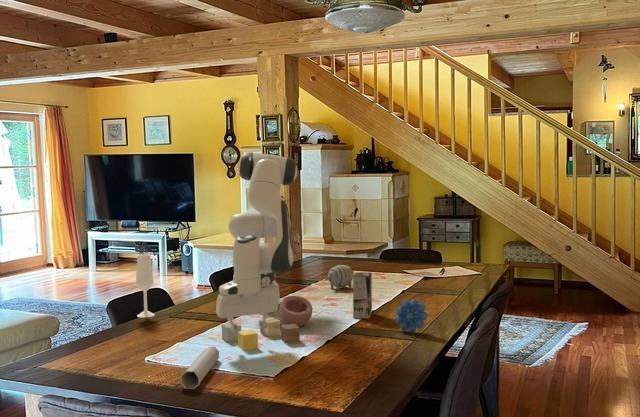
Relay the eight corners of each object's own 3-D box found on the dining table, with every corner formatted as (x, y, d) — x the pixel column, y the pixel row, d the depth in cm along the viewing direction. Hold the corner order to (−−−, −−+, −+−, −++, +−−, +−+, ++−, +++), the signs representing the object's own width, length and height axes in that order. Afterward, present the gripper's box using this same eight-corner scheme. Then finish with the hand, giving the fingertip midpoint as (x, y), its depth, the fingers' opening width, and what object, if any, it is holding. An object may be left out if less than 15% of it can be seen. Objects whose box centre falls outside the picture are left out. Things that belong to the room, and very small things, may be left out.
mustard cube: (238, 346, 207) (237, 331, 207) (252, 344, 209) (252, 329, 209) (243, 350, 203) (242, 335, 202) (257, 348, 205) (257, 333, 204)
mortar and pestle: (287, 332, 223) (287, 300, 222) (274, 324, 233) (273, 293, 232) (318, 327, 228) (317, 296, 227) (303, 320, 239) (303, 290, 238)
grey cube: (222, 338, 216) (221, 324, 215) (235, 336, 218) (235, 322, 218) (227, 342, 212) (227, 327, 211) (241, 340, 214) (241, 325, 214)
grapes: (431, 331, 222) (431, 297, 221) (425, 336, 216) (425, 301, 215) (399, 327, 227) (399, 294, 226) (393, 332, 221) (393, 298, 220)
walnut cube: (281, 339, 214) (281, 325, 214) (295, 338, 216) (295, 323, 215) (285, 343, 209) (284, 329, 209) (299, 342, 211) (299, 327, 210)
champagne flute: (158, 314, 250) (156, 254, 248) (146, 318, 244) (144, 256, 242) (144, 312, 253) (142, 253, 251) (133, 316, 247) (131, 255, 245)
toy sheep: (360, 287, 296) (360, 264, 295) (335, 293, 285) (335, 268, 284) (344, 284, 304) (344, 261, 303) (319, 289, 292) (318, 266, 291)
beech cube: (260, 333, 222) (260, 319, 221) (272, 331, 225) (272, 317, 224) (267, 337, 218) (267, 322, 217) (280, 334, 220) (279, 320, 220)
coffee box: (369, 318, 240) (369, 276, 239) (352, 318, 241) (352, 276, 240) (372, 312, 249) (372, 272, 247) (356, 312, 250) (355, 271, 249)
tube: (201, 346, 194) (177, 374, 170) (218, 341, 194) (195, 368, 169) (207, 362, 195) (184, 392, 170) (223, 357, 194) (202, 386, 169)
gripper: (273, 281, 211) (274, 322, 213) (214, 287, 203) (215, 329, 204) (280, 284, 206) (281, 326, 207) (219, 290, 197) (220, 334, 198)
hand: (248, 328), depth 205 cm, fingers open, 8 cm apart
